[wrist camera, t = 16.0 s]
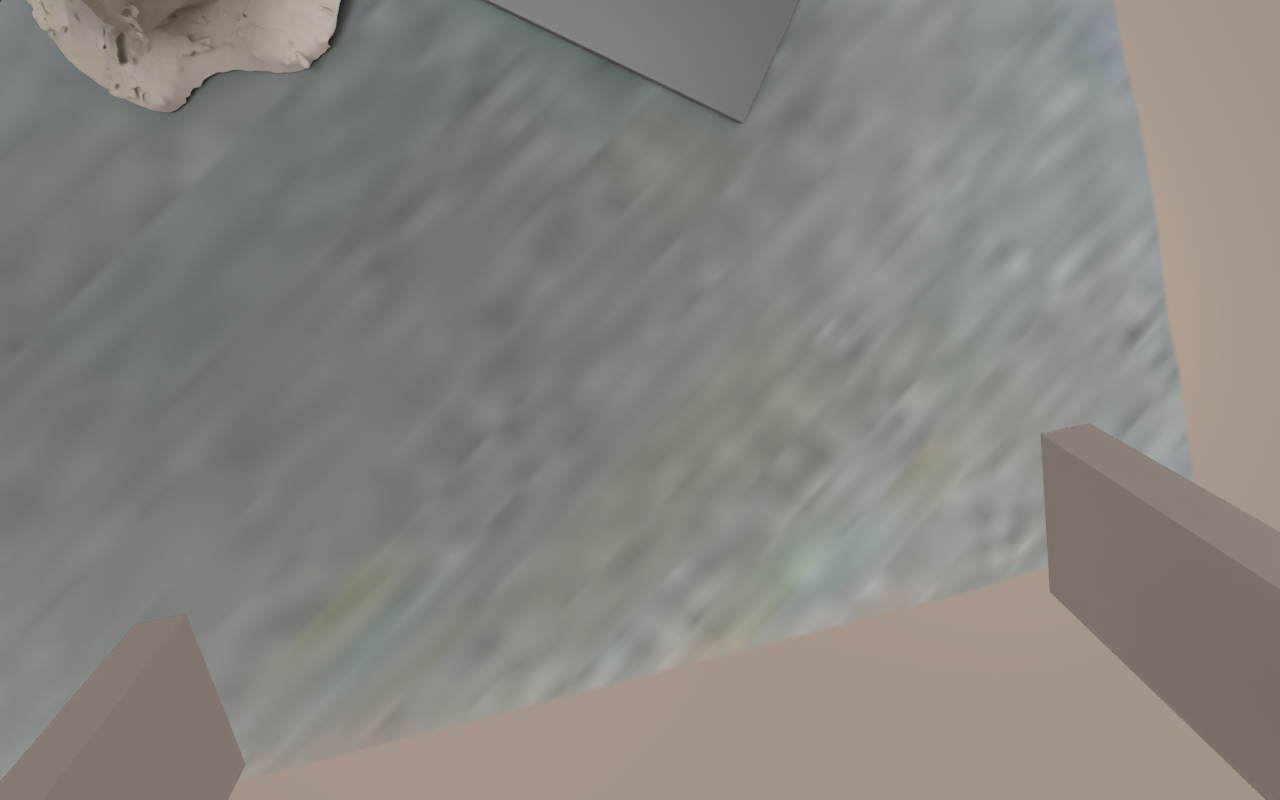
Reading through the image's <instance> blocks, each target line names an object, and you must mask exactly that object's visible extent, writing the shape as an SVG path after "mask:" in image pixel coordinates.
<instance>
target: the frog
mask: <svg viewBox="0 0 1280 800" xmlns="http://www.w3.org/2000/svg"><path fill="white" fill-rule="evenodd" d="M27 1H28V3H29V4H30V5H31V6H32V8H33V11H32V15H33V17H34V18H35V20H36V21H37V22H38V24H39V26H40V28H41V29H43V30H45V31H47V32H48V33H47V34H48V35H49V38H50V39H51V37H52V39H53V41H54V42H55V43H56V45H57V46H58V47H59V49H60V50H61V52H62V54H63V55H64V56H65V57H66V58H67V59H68V60H69V61H70V62H71V63H72V64H73V65H74V66H75V67H77V68H78V69H79V70H80V71H81V72H83V73H85V74H86V75H87V76H88V77H90V78H91V79H93V80H94V81H95V82H96V83H98V84H99V85H101V86H102V87H104V88H106V89H107V90H109V93H110V94H111V95H113V96H115V97H118V98H120V99H125V100H128V101H130V102H132V103H134V104H137V105H139V106H142V107H145V108H147V109H150V110H154V111H158V112H164V113H169V112H173V111H174V110H177V109H179V108H180V107H181V106H182V105H183V104H184V103H186V98H187V97H188V96H190V94H191V91H192V90H193V88H197V87H200V86H201V84H202V82H203V80H204V79H206V78H208V77H209V76H211V75H213V74H215V73H217V72H228V71H231V70H244V71H249V72H250V71H270V72H273V73H285V72H291V73H293V72H298V71H303V70H304V69H305V68H309V67H310V64H312V61H313V60H315V59H318V58H319V57H320V55H321V54H323V53H325V52H326V51H327V49H328V48H330V47H331V46H330V45H328V40H329V39H330V37H331V36H332V35H333V34H334V31H335V29H336V23H337V15H338V10H339V4H340V1H341V0H27ZM0 2H1V0H0Z"/></svg>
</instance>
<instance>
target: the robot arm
mask: <svg viewBox="0 0 1280 800" xmlns="http://www.w3.org/2000/svg"><path fill="white" fill-rule="evenodd" d="M1041 447H1042V464H1043V481H1044V498H1045V516H1046V533H1047V550H1048V567H1049V585H1050V592H1051V593H1052V594H1053V595H1054V596H1055V597H1056V598H1057V599H1058V600H1059V601H1060V602H1061V603H1062V604H1063V605H1064V606H1065V607H1066V608H1067V609H1068V610H1069V611H1071V613H1072V614H1074V615H1075V616H1076V617H1077V618H1078V619H1079V620H1080V621H1081V622H1082V623H1083V624H1084V625H1085V626H1086V627H1087V628H1088V629H1089V630H1090V631H1091V632H1092V633H1093V634H1094V635H1095V636H1096V637H1097V638H1098V639H1099V640H1101V641H1102V642H1103V643H1104V644H1105V645H1106V646H1107V647H1108V648H1109V649H1110V650H1111V651H1112V652H1113V653H1114V654H1115V655H1116V656H1117V657H1118V658H1119V659H1120V660H1121V661H1122V662H1123V663H1124V664H1125V665H1126V666H1127V667H1129V668H1130V669H1131V670H1132V671H1133V672H1134V673H1135V674H1136V675H1137V676H1138V677H1139V678H1140V679H1141V680H1142V681H1143V682H1144V683H1145V684H1146V685H1147V686H1148V687H1149V688H1150V689H1151V690H1152V691H1153V692H1154V693H1156V695H1158V696H1159V697H1160V698H1161V699H1162V700H1163V701H1164V702H1165V703H1166V704H1167V705H1168V706H1169V707H1170V708H1171V709H1172V710H1173V711H1174V712H1175V713H1176V714H1177V715H1178V716H1179V717H1180V718H1181V719H1183V721H1185V722H1186V723H1187V724H1188V725H1189V726H1190V727H1191V728H1192V729H1193V730H1194V731H1195V732H1196V733H1197V734H1198V735H1199V736H1200V737H1201V738H1202V739H1203V740H1204V741H1205V742H1206V743H1208V745H1209V746H1211V747H1212V748H1213V749H1214V750H1215V751H1216V752H1217V753H1218V754H1219V755H1220V756H1221V757H1222V758H1223V759H1224V760H1225V761H1226V762H1227V763H1228V764H1229V765H1230V766H1231V767H1232V768H1233V769H1234V770H1235V771H1236V772H1238V773H1239V774H1240V775H1241V776H1242V777H1243V778H1244V779H1245V780H1246V781H1247V782H1248V783H1249V784H1250V785H1251V786H1252V787H1253V788H1254V789H1255V790H1256V791H1257V792H1258V793H1259V794H1260V795H1261V796H1262V797H1264V798H1265V800H1280V532H1279V531H1277V530H1275V529H1274V528H1272V527H1270V526H1268V525H1267V524H1265V523H1263V522H1261V521H1260V520H1258V519H1256V518H1254V517H1252V516H1251V515H1249V514H1247V513H1245V512H1244V511H1242V510H1240V509H1238V508H1237V507H1235V506H1233V505H1232V504H1230V503H1228V502H1226V501H1225V500H1223V499H1221V498H1219V497H1217V496H1216V495H1214V494H1212V493H1210V492H1209V491H1207V490H1205V489H1203V488H1201V487H1200V486H1198V485H1196V484H1195V483H1193V482H1191V481H1189V480H1188V479H1186V478H1184V477H1182V476H1181V475H1179V474H1177V473H1175V472H1174V471H1172V470H1170V469H1168V468H1167V467H1165V466H1163V465H1161V464H1160V463H1158V462H1156V461H1154V460H1153V459H1151V458H1149V457H1147V456H1146V455H1144V454H1142V453H1140V452H1139V451H1137V450H1135V449H1133V448H1132V447H1130V446H1128V445H1126V444H1125V443H1123V442H1121V441H1119V440H1118V439H1116V438H1114V437H1112V436H1111V435H1109V434H1107V433H1105V432H1104V431H1102V430H1100V429H1098V428H1097V427H1095V426H1093V425H1091V424H1085V425H1080V426H1076V427H1071V428H1066V429H1061V430H1057V431H1052V432H1047V433H1042V434H1041ZM244 766H245V762H244V760H243V757H242V755H241V752H240V750H239V747H238V744H237V742H236V739H235V737H234V734H233V732H232V729H231V727H230V724H229V722H228V719H227V717H226V714H225V712H224V709H223V707H222V704H221V701H220V699H219V696H218V694H217V691H216V689H215V686H214V684H213V681H212V679H211V676H210V674H209V671H208V669H207V666H206V664H205V661H204V658H203V656H202V653H201V651H200V648H199V646H198V643H197V641H196V638H195V636H194V633H193V631H192V628H191V626H190V623H189V620H188V618H187V615H186V614H184V615H179V616H174V617H169V618H165V619H160V620H155V621H150V622H146V623H141V624H136V625H134V626H133V628H132V629H131V630H130V631H129V632H128V633H127V635H126V636H125V637H124V638H123V639H122V640H121V642H120V643H119V644H118V645H117V646H116V647H115V649H114V650H113V651H112V652H111V653H110V654H109V656H108V657H107V658H106V659H105V660H104V661H103V663H102V664H101V665H100V666H99V667H98V668H97V670H96V671H95V672H94V673H93V674H92V675H91V677H90V678H89V679H88V680H87V681H86V682H85V684H84V685H83V686H82V687H81V688H80V689H79V691H78V692H77V693H76V694H75V695H74V696H73V698H72V699H71V700H70V701H69V702H68V703H67V705H66V706H65V707H64V708H63V709H62V710H61V712H60V713H59V714H58V715H57V716H56V717H55V719H54V720H53V721H52V722H51V723H50V724H49V726H48V727H47V728H46V729H45V730H44V731H43V733H42V734H41V735H40V736H39V737H38V738H37V740H36V741H35V742H34V743H33V744H32V745H31V747H30V748H29V749H28V750H27V751H26V752H25V754H24V755H23V756H22V757H21V758H20V759H19V761H18V762H17V763H16V764H15V765H14V766H13V768H12V769H11V770H10V771H9V772H8V773H7V775H6V776H5V777H4V778H3V779H2V780H1V782H0V800H228V798H229V796H230V794H231V792H232V790H233V788H234V786H235V784H236V782H237V780H238V778H239V776H240V774H241V772H242V770H243V768H244Z"/></svg>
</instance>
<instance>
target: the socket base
mask: <svg viewBox="0 0 1280 800" xmlns="http://www.w3.org/2000/svg"><path fill="white" fill-rule="evenodd" d="M483 1H485V2H487V3H489V4H491V5H493V6H496V7H498V8H500V9H502V10H504V11H506V12H508V13H510V14H512V15H514V16H516V17H518V18H521V19H523V20H525V21H527V22H529V23H531V24H533V25H535V26H537V27H539V28H541V29H543V30H546V31H548V32H550V33H552V34H554V35H556V36H558V37H560V38H562V39H564V40H566V41H569V42H571V43H573V44H575V45H577V46H579V47H581V48H583V49H585V50H587V51H589V52H591V53H594V54H596V55H598V56H600V57H602V58H604V59H606V60H608V61H610V62H612V63H614V64H616V65H619V66H621V67H623V68H625V69H627V70H629V71H631V72H633V73H635V74H637V75H639V76H642V77H644V78H646V79H648V80H650V81H652V82H654V83H656V84H658V85H660V86H662V87H664V88H667V89H669V90H671V91H673V92H675V93H677V94H679V95H681V96H683V97H685V98H687V99H689V100H692V101H694V102H696V103H698V104H700V105H702V106H704V107H706V108H708V109H710V110H712V111H715V112H717V113H719V114H721V115H723V116H725V117H727V118H729V119H731V120H733V121H735V122H737V123H744V121H745V119H746V116H747V114H748V112H749V110H750V108H751V105H752V103H753V101H754V99H755V97H756V94H757V92H758V90H759V88H760V86H761V83H762V81H763V79H764V77H765V75H766V72H767V70H768V68H769V66H770V64H771V61H772V59H773V57H774V55H775V53H776V51H777V48H778V46H779V44H780V42H781V40H782V37H783V35H784V33H785V31H786V29H787V26H788V24H789V22H790V20H791V18H792V15H793V13H794V11H795V9H796V7H797V4H798V2H799V0H483Z"/></svg>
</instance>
